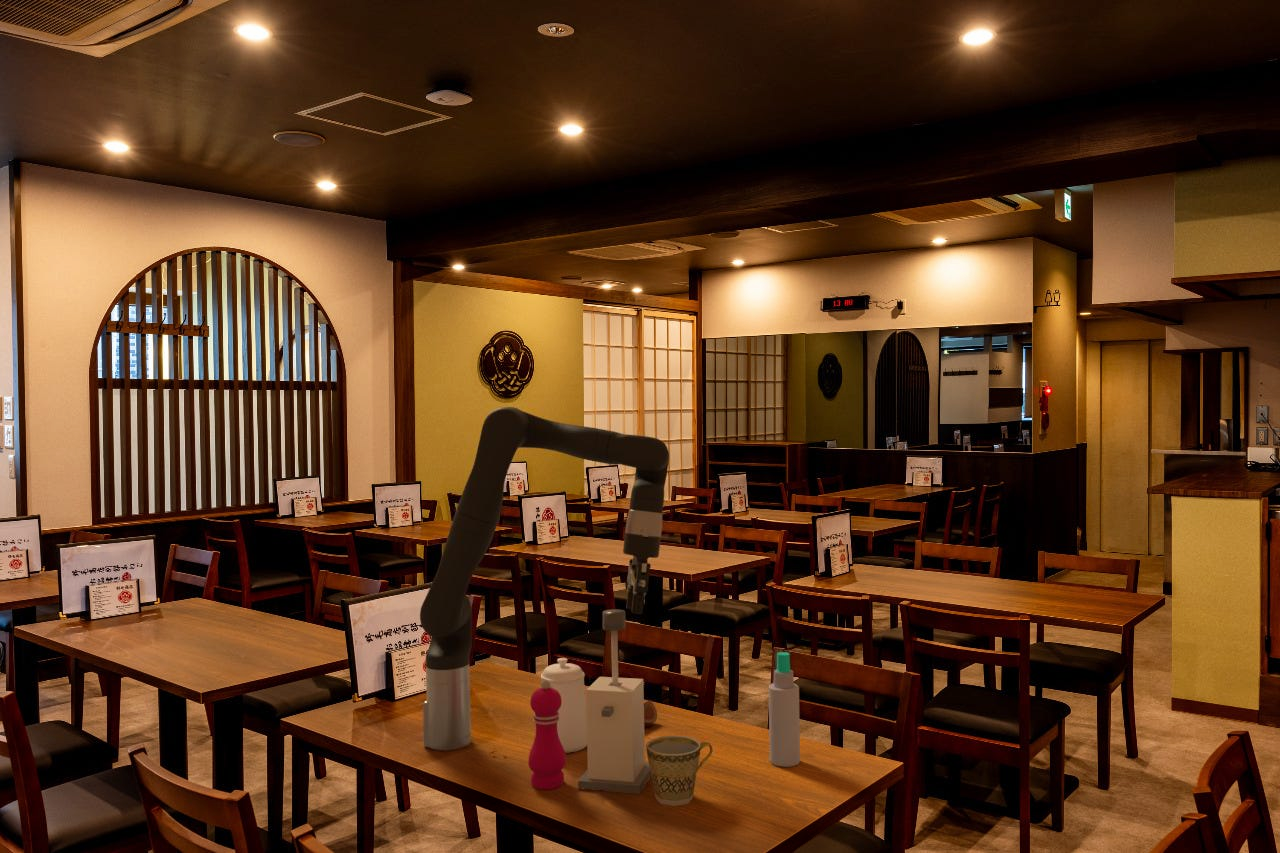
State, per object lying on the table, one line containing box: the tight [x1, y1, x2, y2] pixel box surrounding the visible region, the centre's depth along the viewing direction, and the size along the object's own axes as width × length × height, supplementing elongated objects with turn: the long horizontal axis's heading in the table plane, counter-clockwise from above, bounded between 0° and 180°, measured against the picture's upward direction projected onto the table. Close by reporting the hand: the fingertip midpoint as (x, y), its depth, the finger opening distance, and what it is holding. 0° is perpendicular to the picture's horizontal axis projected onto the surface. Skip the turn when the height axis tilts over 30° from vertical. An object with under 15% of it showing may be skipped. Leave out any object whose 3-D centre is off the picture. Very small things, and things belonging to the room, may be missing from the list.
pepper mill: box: [528, 680, 567, 790], centre depth 182 cm, size 7×7×20 cm
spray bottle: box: [768, 651, 801, 768], centre depth 191 cm, size 6×6×22 cm
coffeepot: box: [540, 657, 587, 754], centre depth 202 cm, size 11×25×19 cm, turn 168°
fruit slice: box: [644, 699, 658, 728], centre depth 214 cm, size 8×7×5 cm
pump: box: [602, 608, 626, 686], centre depth 183 cm, size 4×4×21 cm
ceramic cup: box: [645, 735, 713, 807], centre depth 174 cm, size 13×10×10 cm
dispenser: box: [577, 676, 652, 795], centre depth 183 cm, size 12×13×18 cm
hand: (634, 611), depth 196 cm, fingers open, 8 cm apart
